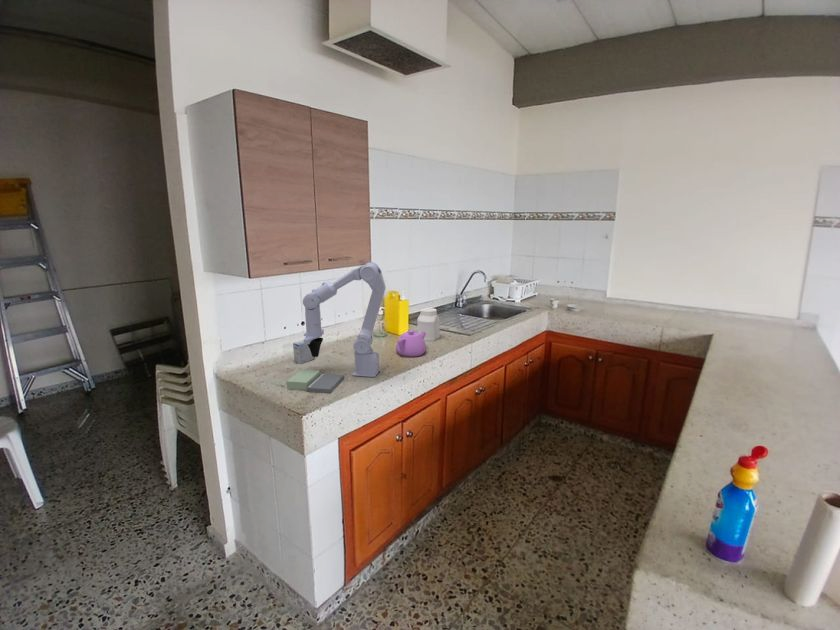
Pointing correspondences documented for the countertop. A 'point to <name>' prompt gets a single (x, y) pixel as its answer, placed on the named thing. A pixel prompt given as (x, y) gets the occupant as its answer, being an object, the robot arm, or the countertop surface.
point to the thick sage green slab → (302, 379)
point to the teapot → (411, 344)
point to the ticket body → (325, 383)
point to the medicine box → (302, 352)
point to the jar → (429, 324)
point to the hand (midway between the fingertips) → (315, 356)
